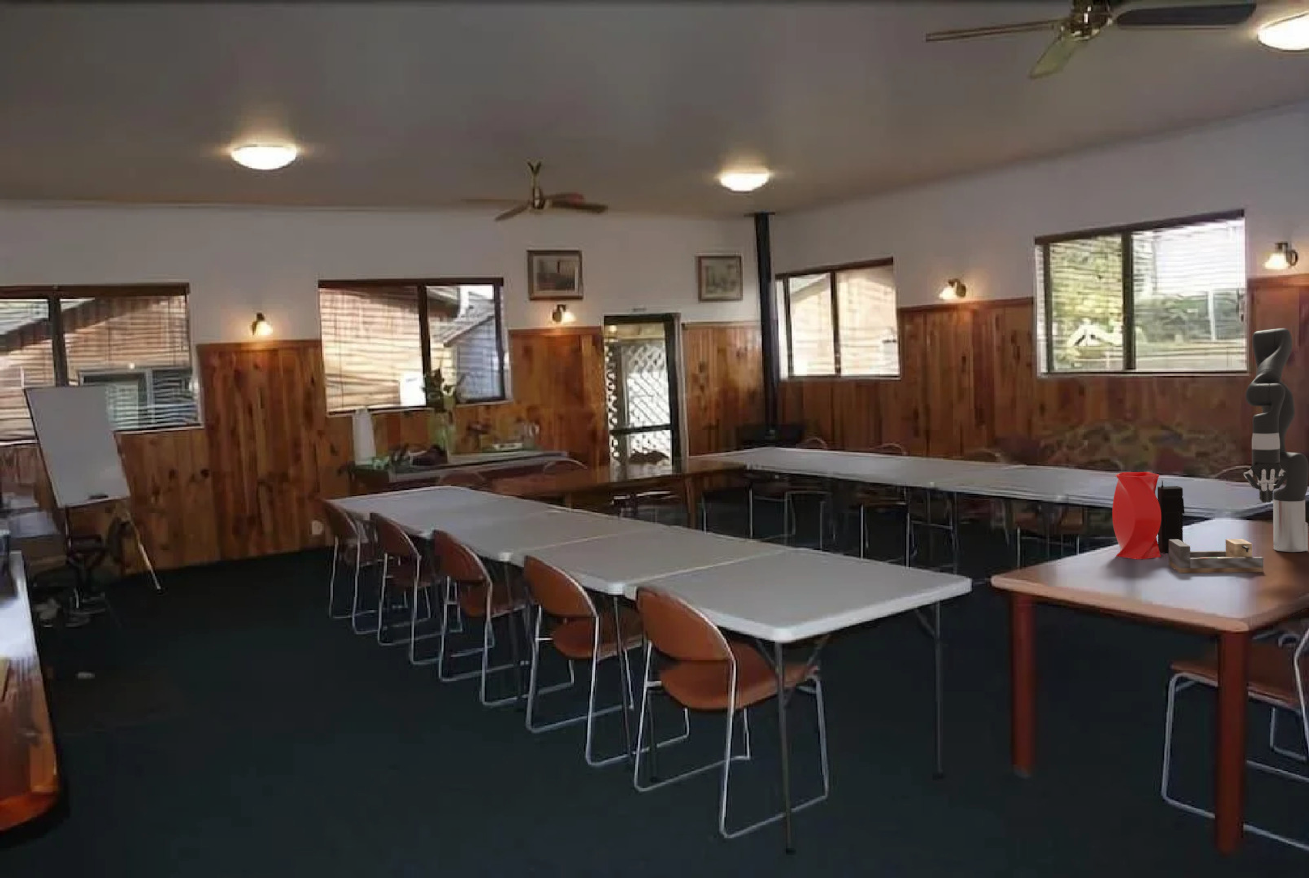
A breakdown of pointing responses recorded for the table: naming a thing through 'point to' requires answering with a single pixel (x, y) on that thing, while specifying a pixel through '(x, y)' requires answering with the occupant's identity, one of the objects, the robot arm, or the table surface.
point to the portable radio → (1170, 515)
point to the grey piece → (1209, 560)
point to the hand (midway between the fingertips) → (1266, 502)
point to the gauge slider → (1238, 548)
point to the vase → (1136, 515)
